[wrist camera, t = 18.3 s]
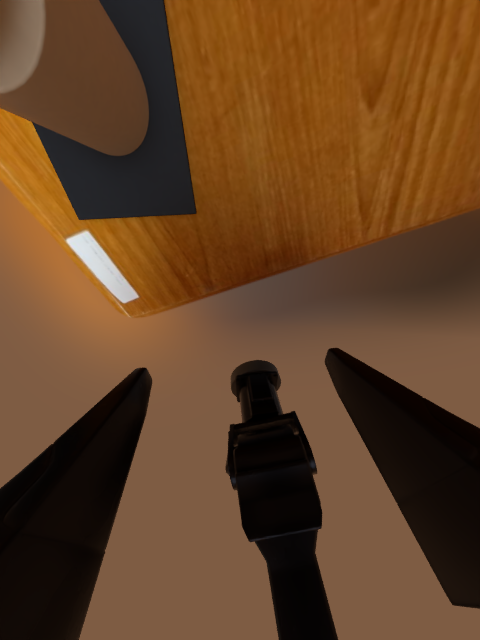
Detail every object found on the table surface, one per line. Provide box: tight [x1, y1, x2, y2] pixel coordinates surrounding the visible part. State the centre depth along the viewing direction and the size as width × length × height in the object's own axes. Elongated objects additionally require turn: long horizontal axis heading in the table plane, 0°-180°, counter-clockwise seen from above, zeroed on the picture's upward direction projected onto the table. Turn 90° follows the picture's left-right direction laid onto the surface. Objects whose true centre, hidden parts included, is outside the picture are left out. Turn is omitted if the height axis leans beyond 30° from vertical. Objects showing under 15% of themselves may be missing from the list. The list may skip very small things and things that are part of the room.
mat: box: [32, 0, 196, 220], centre depth 12 cm, size 14×10×1 cm
